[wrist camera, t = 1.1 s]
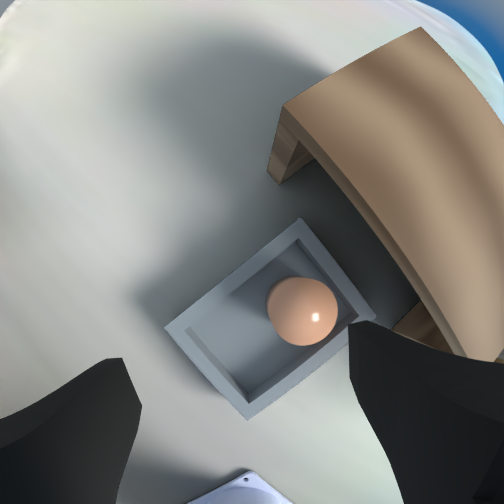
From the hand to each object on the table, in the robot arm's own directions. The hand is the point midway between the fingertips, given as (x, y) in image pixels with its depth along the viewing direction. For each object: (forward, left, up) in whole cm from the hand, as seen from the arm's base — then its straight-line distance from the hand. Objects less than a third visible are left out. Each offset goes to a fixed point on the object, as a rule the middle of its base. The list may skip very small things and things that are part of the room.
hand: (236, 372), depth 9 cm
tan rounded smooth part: (+3, -2, -14) cm, 15 cm away
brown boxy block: (+14, -2, -15) cm, 21 cm away
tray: (+1, -2, -15) cm, 15 cm away
